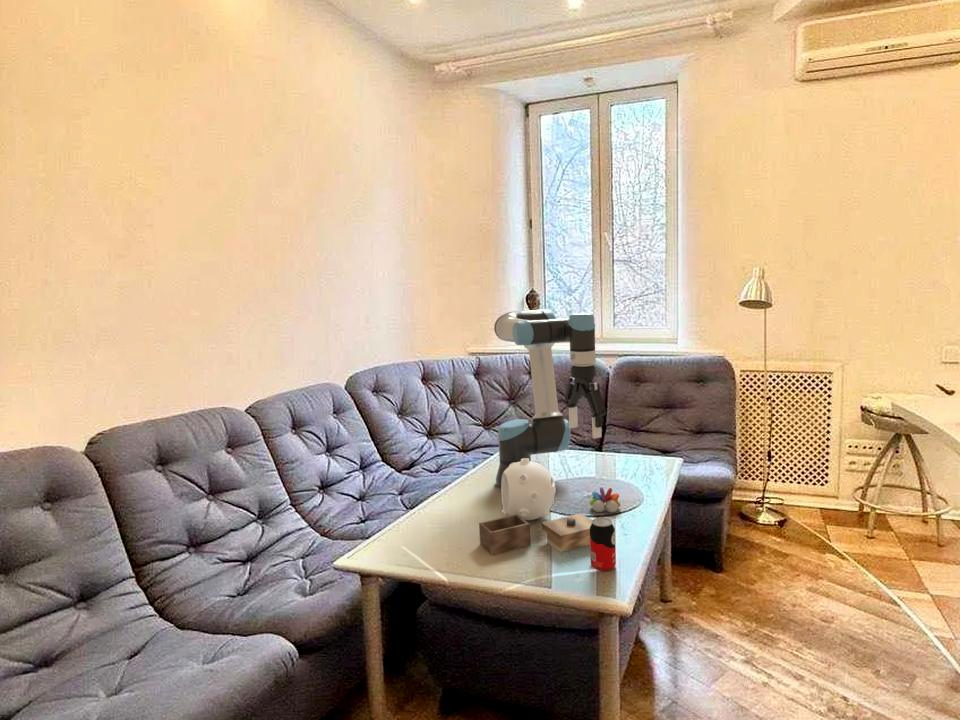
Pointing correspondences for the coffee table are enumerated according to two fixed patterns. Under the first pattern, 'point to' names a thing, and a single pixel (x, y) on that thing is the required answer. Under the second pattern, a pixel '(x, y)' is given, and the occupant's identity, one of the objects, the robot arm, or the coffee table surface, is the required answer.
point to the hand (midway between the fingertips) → (584, 432)
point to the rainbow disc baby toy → (610, 500)
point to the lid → (568, 527)
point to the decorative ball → (527, 490)
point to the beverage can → (602, 544)
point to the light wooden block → (567, 543)
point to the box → (504, 534)
